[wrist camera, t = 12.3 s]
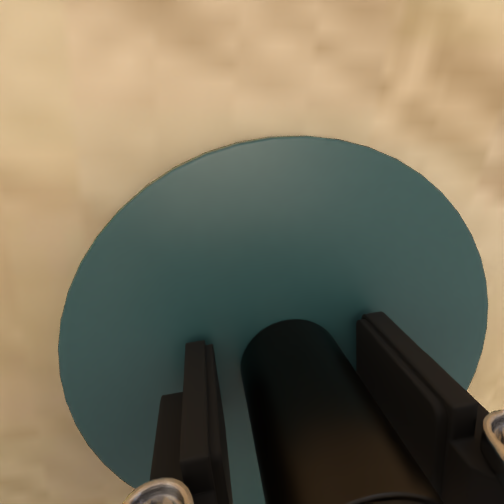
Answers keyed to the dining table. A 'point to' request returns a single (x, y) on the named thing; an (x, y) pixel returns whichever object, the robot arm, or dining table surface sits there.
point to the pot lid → (272, 314)
